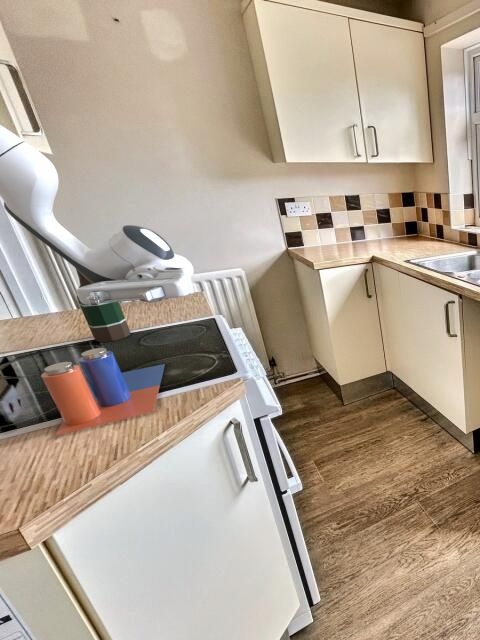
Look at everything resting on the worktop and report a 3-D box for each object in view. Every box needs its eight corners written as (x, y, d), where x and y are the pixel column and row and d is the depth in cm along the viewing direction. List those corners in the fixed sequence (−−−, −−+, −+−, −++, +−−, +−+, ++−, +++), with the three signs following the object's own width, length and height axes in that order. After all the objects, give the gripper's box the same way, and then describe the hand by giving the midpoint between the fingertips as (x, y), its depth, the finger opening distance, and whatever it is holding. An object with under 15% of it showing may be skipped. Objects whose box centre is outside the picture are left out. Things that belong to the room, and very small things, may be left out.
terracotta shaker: (61, 428, 77) (34, 374, 73) (68, 415, 81) (43, 364, 77) (97, 419, 79) (73, 367, 75) (103, 408, 83) (80, 357, 79)
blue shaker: (96, 409, 83) (73, 359, 79) (101, 398, 87) (79, 350, 82) (129, 402, 85) (108, 352, 81) (132, 391, 89) (113, 344, 85)
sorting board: (55, 438, 75) (54, 435, 75) (88, 381, 95) (87, 379, 95) (154, 413, 82) (153, 411, 82) (165, 365, 102) (164, 363, 102)
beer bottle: (96, 337, 120) (59, 253, 111) (131, 330, 125) (99, 249, 115) (94, 345, 115) (56, 257, 105) (131, 338, 119) (97, 253, 110)
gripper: (94, 274, 99) (51, 289, 86) (193, 267, 103) (166, 281, 91) (105, 299, 101) (65, 318, 89) (201, 292, 106) (176, 308, 93)
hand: (117, 299), depth 90 cm, fingers open, 8 cm apart
